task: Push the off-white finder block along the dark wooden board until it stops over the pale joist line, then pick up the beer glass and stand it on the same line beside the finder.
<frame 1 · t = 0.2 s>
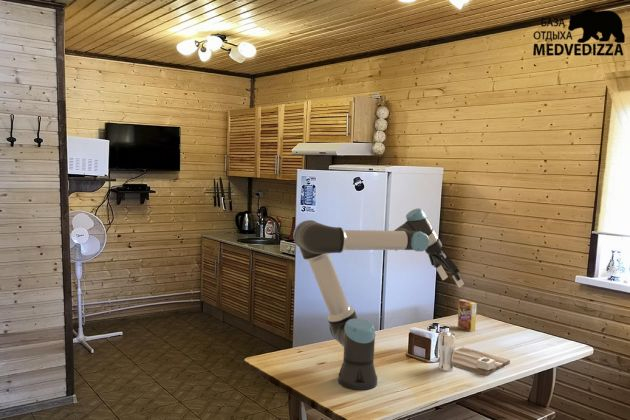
hand: (453, 282, 229), 35 cm above the table, tool tilted 35°, fingers open, 13 cm apart
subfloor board: (474, 362, 232), on the table
finder: (485, 363, 221), point 4 cm above the table, slide at 0.0 cm
candy box: (466, 329, 283), on the table
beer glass: (445, 369, 223), on the table
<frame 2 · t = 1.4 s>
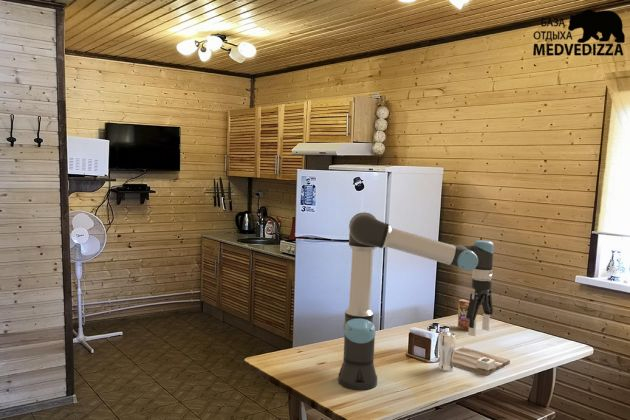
hand: (478, 332, 214), 18 cm above the table, tool pointing down, fingers open, 11 cm apart
nothing on the table moved.
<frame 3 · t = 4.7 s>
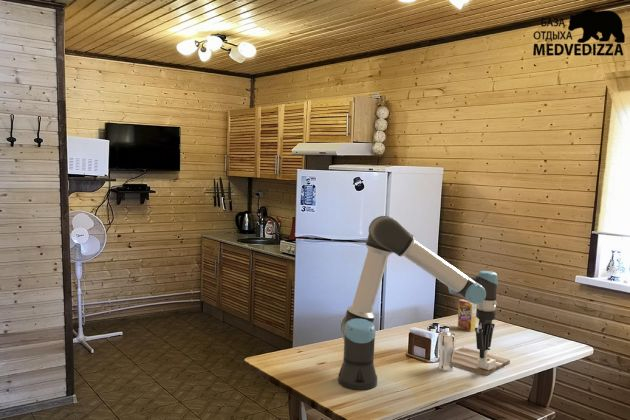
hand: (482, 365, 219), 4 cm above the table, tool pointing down, fingers closed
finder: (486, 362, 221), point 4 cm above the table, slide at 0.5 cm, touching gripper
everything else where it was.
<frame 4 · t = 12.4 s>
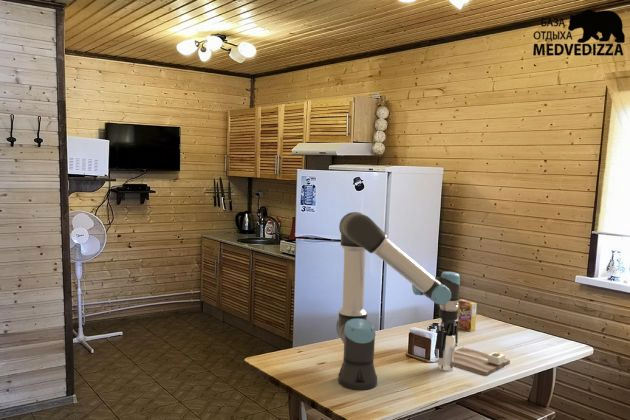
hand: (445, 362, 223), 2 cm above the table, tool pointing down, fingers closed on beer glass, 6 cm apart
finder: (496, 358, 228), point 4 cm above the table, slide at 9.7 cm
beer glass: (445, 369, 223), on the table, touching gripper
everything else where it was.
when the fingers open (4 cm above the table, at t = 21.7 s): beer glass moves 2 cm, resting on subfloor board.
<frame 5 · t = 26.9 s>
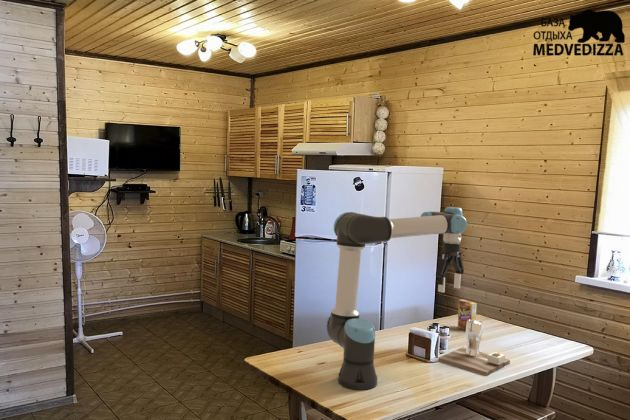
hand: (449, 290, 234), 31 cm above the table, tool pointing down, fingers open, 13 cm apart
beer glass: (472, 354, 238), point 1 cm above the table, touching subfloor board
everything else where it was.
at the end: finder slide at 9.7 cm; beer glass inside the target area (1.6 cm from its centre), point 1.3 cm above the table; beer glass tilted 1° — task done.
